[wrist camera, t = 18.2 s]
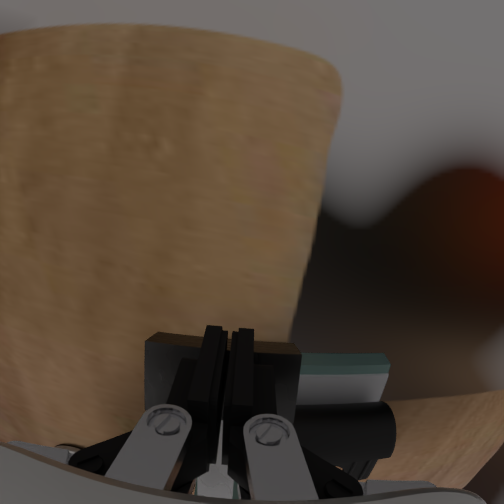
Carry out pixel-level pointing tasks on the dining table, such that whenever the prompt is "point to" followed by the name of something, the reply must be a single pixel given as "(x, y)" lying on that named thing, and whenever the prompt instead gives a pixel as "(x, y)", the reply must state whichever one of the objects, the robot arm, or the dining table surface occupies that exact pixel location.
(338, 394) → the press frame
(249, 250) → the dining table surface
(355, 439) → the end cap
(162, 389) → the press lever
